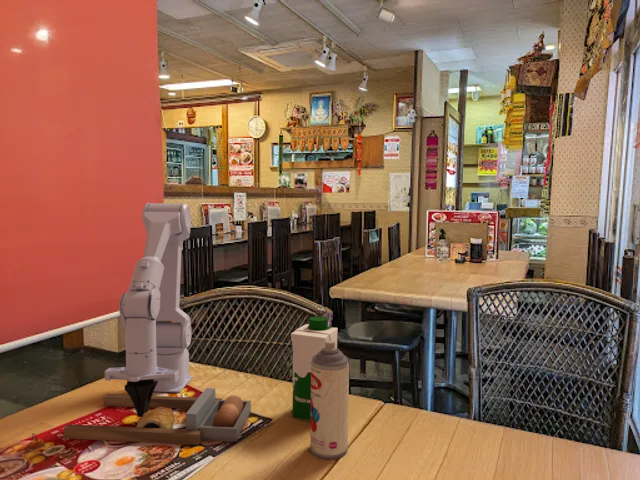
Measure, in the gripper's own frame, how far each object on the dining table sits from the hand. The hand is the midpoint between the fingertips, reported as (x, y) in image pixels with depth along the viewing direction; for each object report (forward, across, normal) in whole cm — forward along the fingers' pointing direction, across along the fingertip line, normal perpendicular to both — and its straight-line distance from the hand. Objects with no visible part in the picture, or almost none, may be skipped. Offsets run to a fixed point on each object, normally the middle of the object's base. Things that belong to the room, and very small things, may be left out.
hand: (142, 414), depth 94 cm
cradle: (+1, +17, 0) cm, 17 cm away
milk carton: (+2, +34, +7) cm, 35 cm away
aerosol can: (+2, +38, -7) cm, 39 cm away
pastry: (+2, +4, -2) cm, 5 cm away
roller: (+1, +17, 0) cm, 17 cm away
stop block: (+1, +12, 0) cm, 12 cm away
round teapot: (+2, -15, -11) cm, 19 cm away
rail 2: (+1, +1, -7) cm, 7 cm away
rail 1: (+1, +1, +7) cm, 7 cm away
